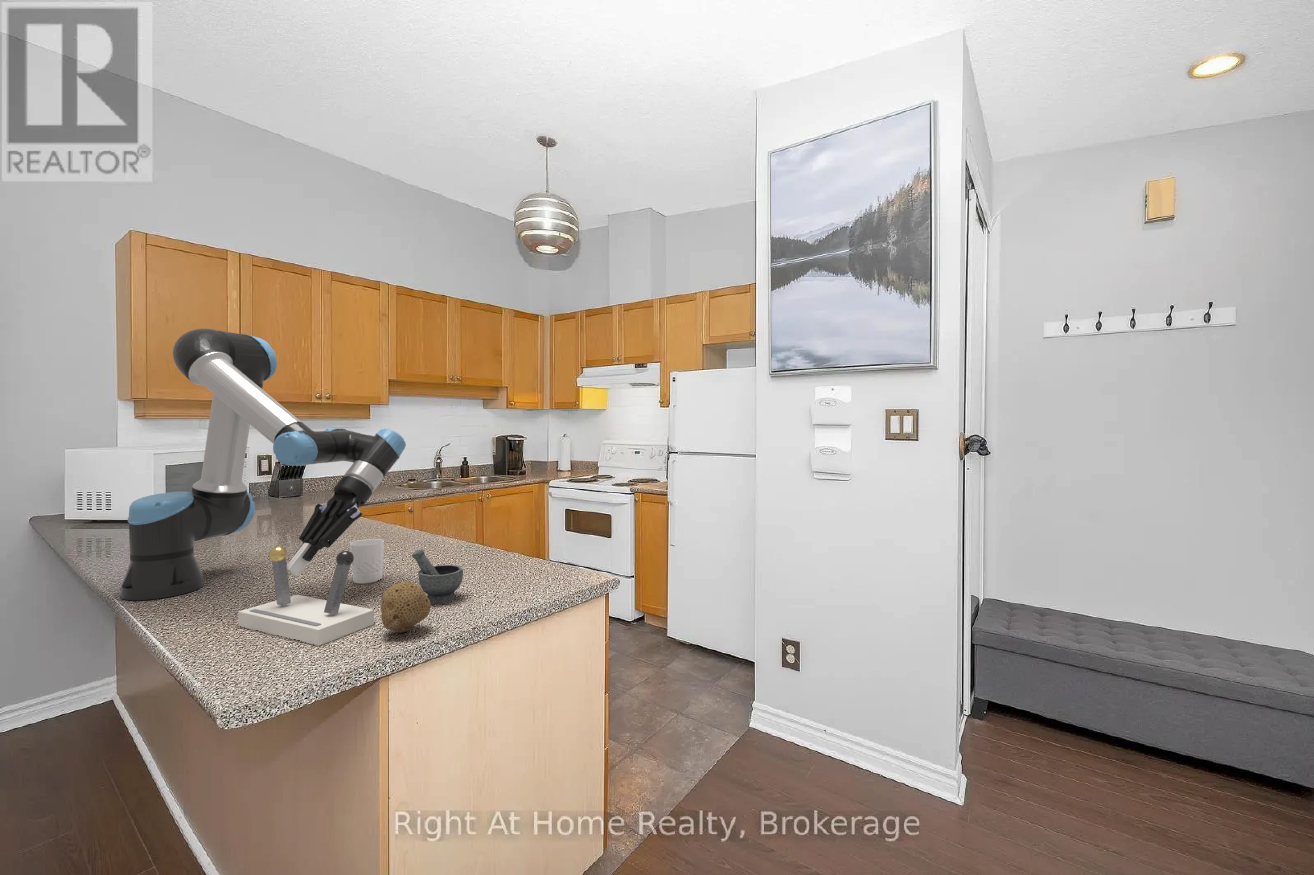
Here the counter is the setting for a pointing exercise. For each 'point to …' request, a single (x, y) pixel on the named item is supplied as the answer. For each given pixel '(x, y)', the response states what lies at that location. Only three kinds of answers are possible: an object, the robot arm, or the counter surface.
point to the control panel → (306, 620)
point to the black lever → (338, 581)
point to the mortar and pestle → (438, 579)
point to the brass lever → (280, 575)
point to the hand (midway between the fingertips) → (291, 572)
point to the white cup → (367, 560)
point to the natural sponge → (404, 606)
